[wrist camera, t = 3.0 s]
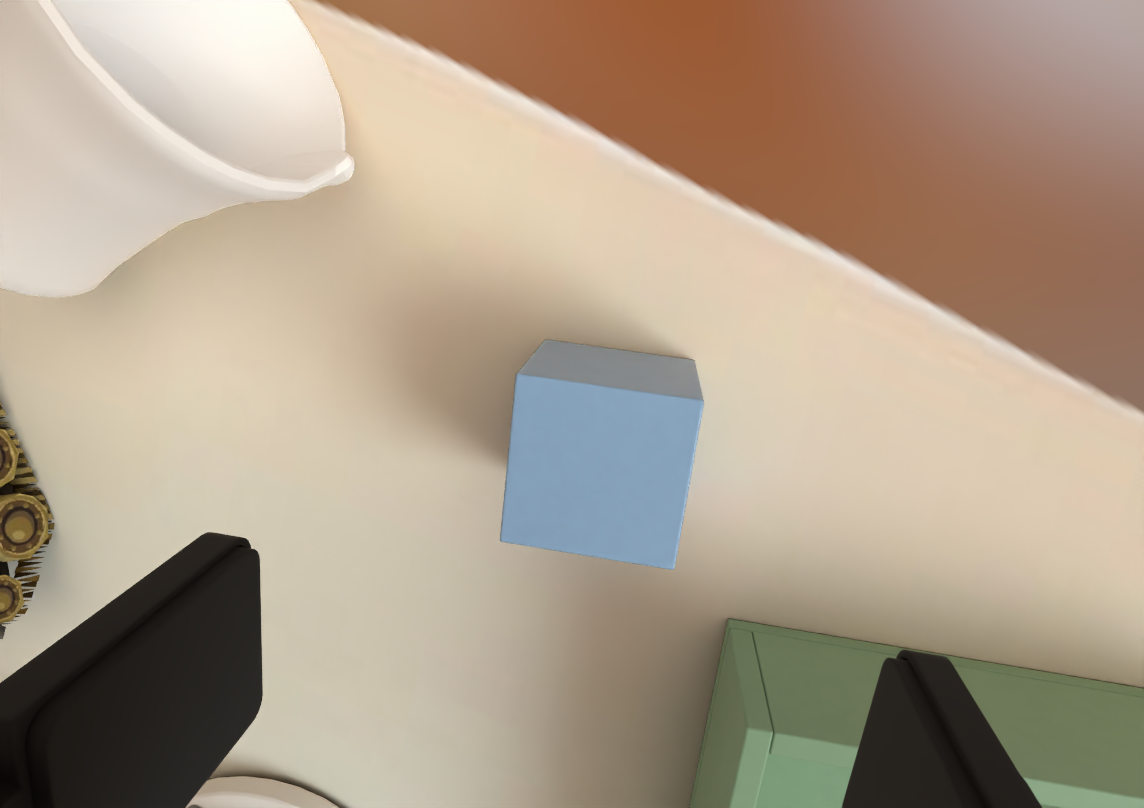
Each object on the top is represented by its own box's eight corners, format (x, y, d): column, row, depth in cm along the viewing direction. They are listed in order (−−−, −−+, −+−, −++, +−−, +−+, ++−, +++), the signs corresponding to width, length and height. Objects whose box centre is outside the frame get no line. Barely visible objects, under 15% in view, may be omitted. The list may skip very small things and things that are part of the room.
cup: (88, 409, 21) (308, 258, 17) (-291, 161, 16) (-112, -142, 12) (212, 251, 28) (395, 112, 24) (-32, 37, 23) (145, -190, 18)
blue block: (530, 477, 25) (499, 542, 20) (544, 338, 24) (515, 373, 19) (671, 499, 25) (674, 571, 20) (695, 359, 23) (704, 400, 18)
